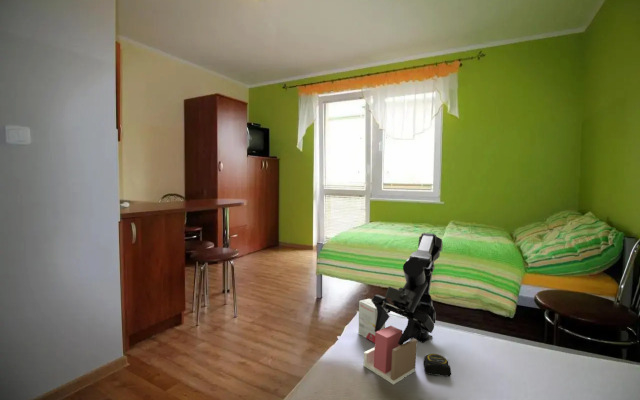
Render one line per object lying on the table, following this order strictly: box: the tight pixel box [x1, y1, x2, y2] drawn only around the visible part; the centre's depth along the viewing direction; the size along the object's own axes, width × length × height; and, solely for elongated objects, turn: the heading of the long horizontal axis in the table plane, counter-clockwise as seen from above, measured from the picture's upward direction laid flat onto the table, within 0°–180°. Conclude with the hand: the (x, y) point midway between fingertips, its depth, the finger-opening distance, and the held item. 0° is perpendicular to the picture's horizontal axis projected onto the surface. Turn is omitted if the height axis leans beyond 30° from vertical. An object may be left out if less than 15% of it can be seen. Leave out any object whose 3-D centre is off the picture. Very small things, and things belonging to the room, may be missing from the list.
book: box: [374, 325, 403, 374], centre depth 88 cm, size 7×4×10 cm, turn 130°
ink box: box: [358, 298, 386, 344], centre depth 106 cm, size 9×5×12 cm, turn 33°
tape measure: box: [423, 353, 452, 378], centre depth 88 cm, size 7×7×4 cm
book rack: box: [363, 338, 418, 385], centre depth 88 cm, size 10×10×9 cm
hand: (387, 338), depth 87 cm, fingers open, 8 cm apart
